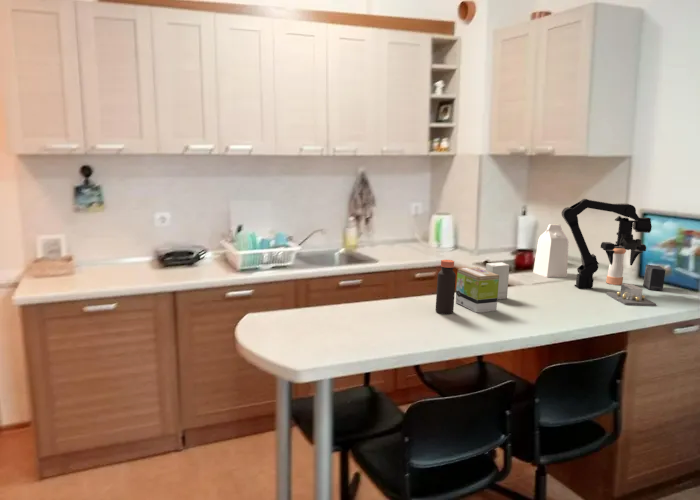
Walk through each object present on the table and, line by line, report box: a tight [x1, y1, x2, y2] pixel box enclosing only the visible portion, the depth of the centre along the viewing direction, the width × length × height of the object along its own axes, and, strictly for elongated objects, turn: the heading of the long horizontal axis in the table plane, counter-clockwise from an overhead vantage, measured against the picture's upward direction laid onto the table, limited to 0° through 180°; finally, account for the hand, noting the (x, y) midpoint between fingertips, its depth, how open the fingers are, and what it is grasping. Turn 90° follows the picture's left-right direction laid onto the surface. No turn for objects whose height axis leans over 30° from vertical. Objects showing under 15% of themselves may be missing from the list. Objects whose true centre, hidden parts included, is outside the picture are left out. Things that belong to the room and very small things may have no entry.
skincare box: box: [485, 261, 510, 300], centre depth 251 cm, size 8×6×15 cm
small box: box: [642, 264, 666, 292], centre depth 282 cm, size 11×6×10 cm, turn 168°
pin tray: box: [606, 291, 657, 307], centre depth 257 cm, size 13×18×3 cm
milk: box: [532, 223, 569, 278], centre depth 304 cm, size 12×12×26 cm
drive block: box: [620, 283, 644, 301], centre depth 257 cm, size 5×9×5 cm, turn 0°
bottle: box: [435, 259, 457, 315], centre depth 226 cm, size 7×7×20 cm
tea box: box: [455, 266, 499, 313], centre depth 235 cm, size 15×10×15 cm
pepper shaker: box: [605, 248, 627, 286], centre depth 289 cm, size 7×7×19 cm
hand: (621, 264), depth 273 cm, fingers open, 9 cm apart
